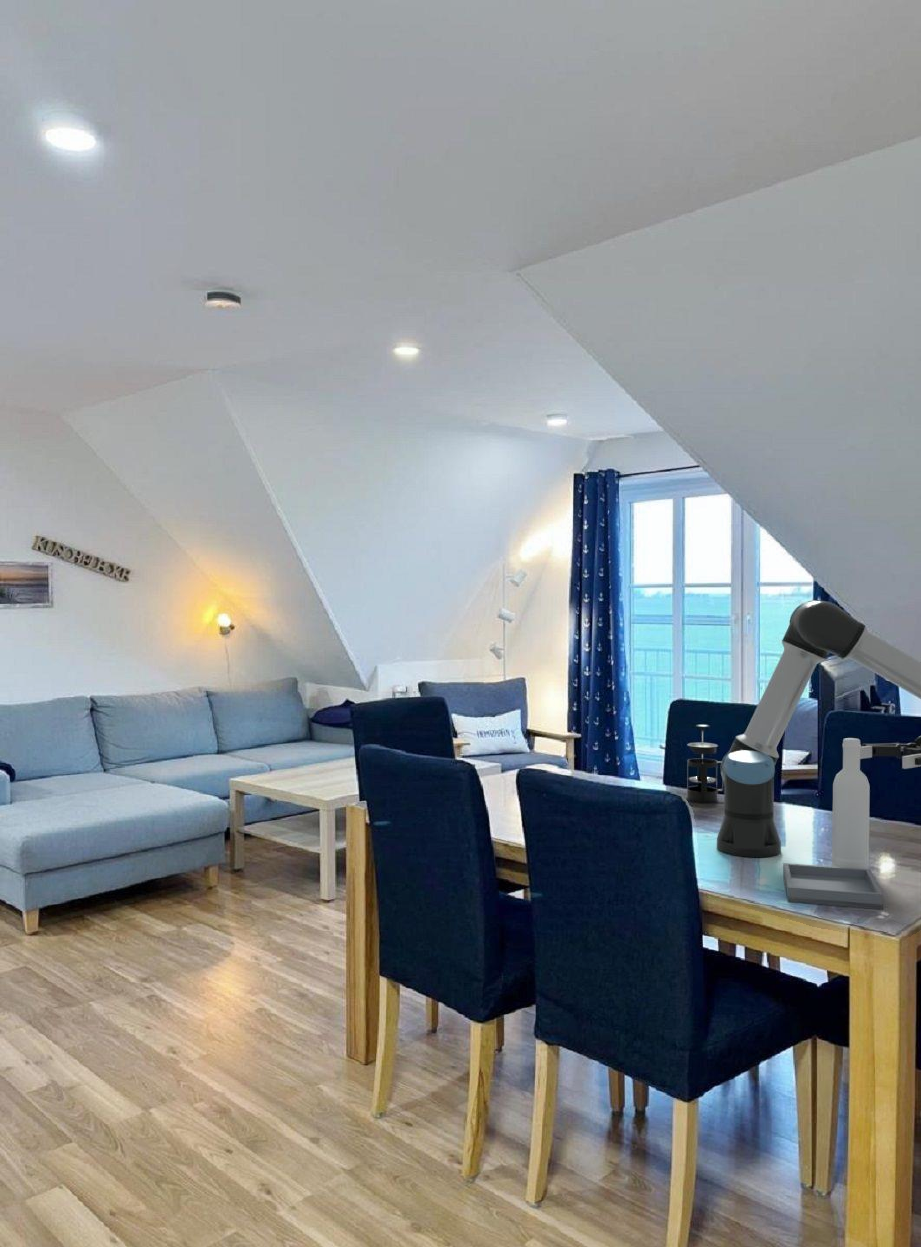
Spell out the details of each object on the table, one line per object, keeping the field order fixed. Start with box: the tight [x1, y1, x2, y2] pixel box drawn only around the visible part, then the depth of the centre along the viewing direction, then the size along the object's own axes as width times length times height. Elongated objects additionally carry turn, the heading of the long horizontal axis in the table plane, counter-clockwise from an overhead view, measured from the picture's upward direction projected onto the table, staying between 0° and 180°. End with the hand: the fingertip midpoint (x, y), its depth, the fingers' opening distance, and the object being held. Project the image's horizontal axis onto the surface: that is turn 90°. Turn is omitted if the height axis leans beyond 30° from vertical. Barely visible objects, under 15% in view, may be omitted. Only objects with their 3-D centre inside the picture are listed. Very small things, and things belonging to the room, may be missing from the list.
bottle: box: [831, 737, 871, 869], centre depth 216 cm, size 8×8×30 cm
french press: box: [686, 724, 724, 804], centre depth 289 cm, size 12×9×23 cm
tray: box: [782, 862, 884, 910], centre depth 201 cm, size 18×18×3 cm
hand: (877, 758), depth 220 cm, fingers open, 13 cm apart
